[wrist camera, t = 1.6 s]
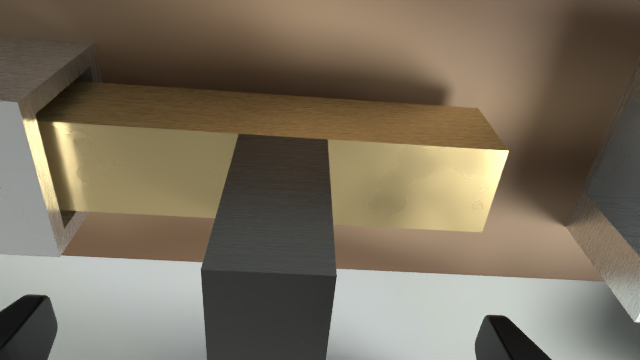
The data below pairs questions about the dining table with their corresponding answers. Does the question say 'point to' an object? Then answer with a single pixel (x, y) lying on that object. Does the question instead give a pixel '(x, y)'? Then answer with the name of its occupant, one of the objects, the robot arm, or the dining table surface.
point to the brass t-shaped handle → (269, 189)
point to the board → (383, 86)
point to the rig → (61, 225)
